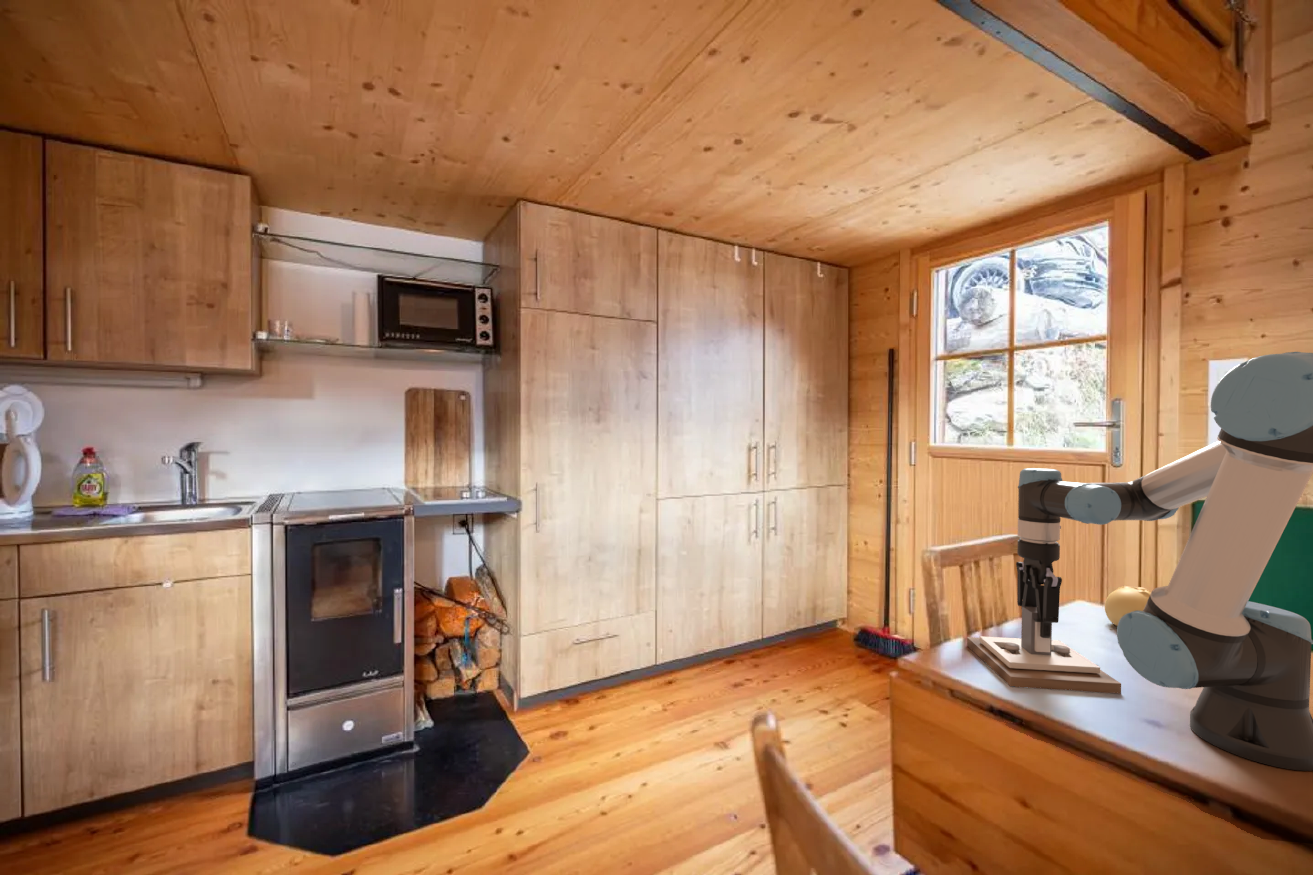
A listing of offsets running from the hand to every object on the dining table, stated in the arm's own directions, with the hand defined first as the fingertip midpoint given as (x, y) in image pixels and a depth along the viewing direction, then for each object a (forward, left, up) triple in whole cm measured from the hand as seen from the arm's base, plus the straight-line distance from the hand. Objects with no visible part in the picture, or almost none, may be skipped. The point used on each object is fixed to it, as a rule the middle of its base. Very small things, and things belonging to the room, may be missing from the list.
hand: (1036, 646), depth 119 cm
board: (0, 0, -4) cm, 4 cm away
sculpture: (+29, -38, -5) cm, 48 cm away
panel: (0, 0, -2) cm, 2 cm away
